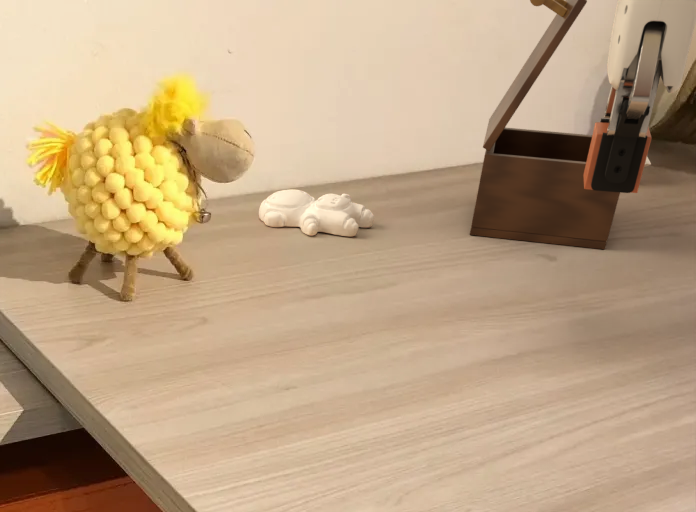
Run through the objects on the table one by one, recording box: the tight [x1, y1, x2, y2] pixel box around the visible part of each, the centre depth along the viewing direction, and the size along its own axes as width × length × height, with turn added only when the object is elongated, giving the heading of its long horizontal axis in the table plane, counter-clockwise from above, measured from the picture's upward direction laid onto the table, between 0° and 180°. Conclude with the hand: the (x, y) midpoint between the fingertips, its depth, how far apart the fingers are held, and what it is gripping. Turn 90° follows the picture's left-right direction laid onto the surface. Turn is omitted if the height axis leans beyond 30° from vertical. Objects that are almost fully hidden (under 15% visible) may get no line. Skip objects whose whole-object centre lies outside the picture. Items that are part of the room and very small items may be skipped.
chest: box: [469, 127, 621, 250], centre depth 109 cm, size 14×13×8 cm
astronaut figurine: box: [258, 188, 375, 237], centre depth 109 cm, size 9×12×3 cm
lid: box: [482, 0, 588, 151], centre depth 102 cm, size 14×13×5 cm
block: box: [583, 121, 652, 194], centre depth 81 cm, size 4×4×4 cm
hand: (610, 179), depth 82 cm, fingers closed on block, 4 cm apart
